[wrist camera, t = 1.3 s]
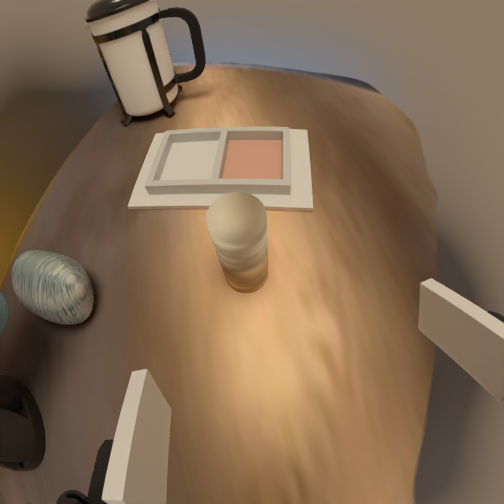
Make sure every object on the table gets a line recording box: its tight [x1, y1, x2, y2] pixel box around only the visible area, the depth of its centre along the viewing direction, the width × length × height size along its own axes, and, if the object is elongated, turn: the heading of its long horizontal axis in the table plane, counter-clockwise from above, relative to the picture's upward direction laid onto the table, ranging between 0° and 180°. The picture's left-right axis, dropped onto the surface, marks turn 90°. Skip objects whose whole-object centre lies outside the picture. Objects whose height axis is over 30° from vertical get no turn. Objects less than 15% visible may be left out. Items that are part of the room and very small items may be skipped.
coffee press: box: [85, 0, 205, 126], centre depth 39 cm, size 17×16×30 cm
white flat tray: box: [128, 127, 313, 212], centre depth 41 cm, size 26×16×3 cm, turn 86°
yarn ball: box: [12, 250, 94, 325], centre depth 31 cm, size 14×10×10 cm
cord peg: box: [206, 192, 268, 293], centre depth 29 cm, size 5×5×12 cm
